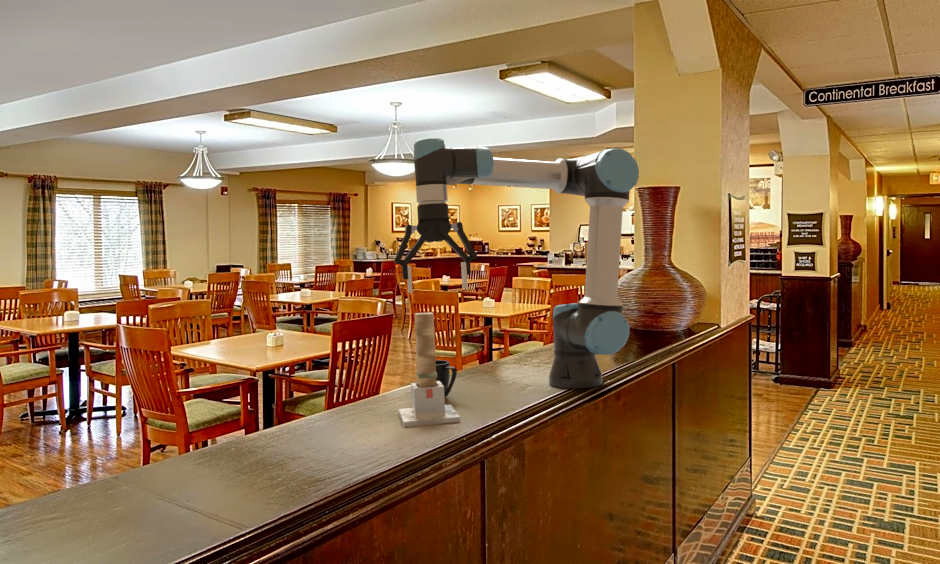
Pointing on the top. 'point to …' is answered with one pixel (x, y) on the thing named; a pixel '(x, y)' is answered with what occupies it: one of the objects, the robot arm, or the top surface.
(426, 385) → the post
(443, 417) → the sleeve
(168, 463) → the top surface
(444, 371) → the mug
